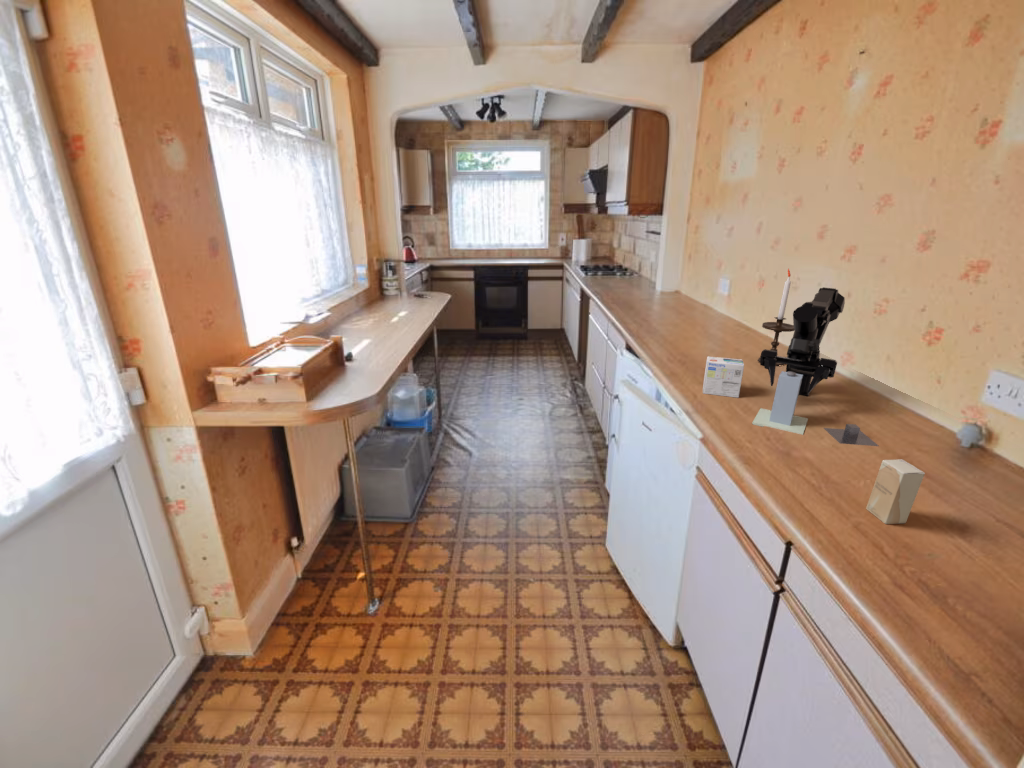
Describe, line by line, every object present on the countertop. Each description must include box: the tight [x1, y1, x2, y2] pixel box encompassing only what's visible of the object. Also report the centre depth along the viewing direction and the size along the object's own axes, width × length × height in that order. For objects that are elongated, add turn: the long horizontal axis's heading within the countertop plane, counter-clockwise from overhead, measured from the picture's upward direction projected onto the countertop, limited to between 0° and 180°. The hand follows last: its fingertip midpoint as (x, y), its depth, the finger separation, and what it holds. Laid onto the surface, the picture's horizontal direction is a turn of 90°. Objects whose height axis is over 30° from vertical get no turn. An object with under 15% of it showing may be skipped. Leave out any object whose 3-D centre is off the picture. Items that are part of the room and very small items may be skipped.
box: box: [865, 458, 926, 525], centre depth 91 cm, size 5×4×11 cm
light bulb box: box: [702, 355, 745, 398], centre depth 152 cm, size 11×7×11 cm, turn 71°
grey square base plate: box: [823, 423, 880, 447], centre depth 123 cm, size 9×9×3 cm
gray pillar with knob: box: [769, 370, 803, 426], centre depth 130 cm, size 5×5×14 cm
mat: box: [751, 407, 809, 436], centre depth 132 cm, size 12×12×1 cm
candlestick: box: [757, 268, 795, 367], centre depth 178 cm, size 11×11×35 cm
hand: (789, 388), depth 136 cm, fingers open, 9 cm apart
